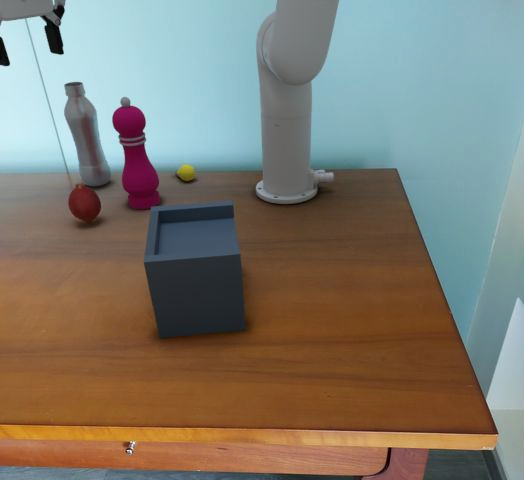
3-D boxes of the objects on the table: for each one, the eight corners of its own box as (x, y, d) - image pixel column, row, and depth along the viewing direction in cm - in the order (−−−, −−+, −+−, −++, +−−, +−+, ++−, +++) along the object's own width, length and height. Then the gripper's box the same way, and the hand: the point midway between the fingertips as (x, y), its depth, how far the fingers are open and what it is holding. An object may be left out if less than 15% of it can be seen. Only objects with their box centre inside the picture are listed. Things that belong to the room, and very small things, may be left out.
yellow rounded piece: (190, 184, 113) (181, 169, 111) (175, 184, 117) (167, 170, 115) (201, 175, 114) (192, 160, 112) (186, 175, 118) (177, 161, 116)
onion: (77, 216, 103) (66, 176, 98) (107, 214, 103) (97, 174, 98) (71, 230, 98) (59, 189, 93) (102, 228, 99) (92, 187, 93)
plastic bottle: (86, 192, 112) (59, 90, 99) (79, 181, 116) (53, 83, 104) (116, 185, 114) (94, 85, 101) (108, 175, 119) (86, 78, 106)
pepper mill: (166, 195, 109) (149, 91, 96) (157, 211, 103) (138, 102, 91) (132, 195, 110) (111, 91, 97) (122, 210, 104) (98, 103, 91)
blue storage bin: (238, 270, 85) (232, 200, 78) (245, 330, 73) (240, 253, 65) (163, 276, 85) (151, 206, 77) (159, 338, 72) (143, 262, 65)
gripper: (-56, -74, 68) (-8, 73, 79) (61, -79, 78) (89, 52, 89) (-80, -73, 72) (-31, 67, 83) (34, -78, 82) (64, 47, 93)
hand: (31, 59), depth 86 cm, fingers open, 9 cm apart
